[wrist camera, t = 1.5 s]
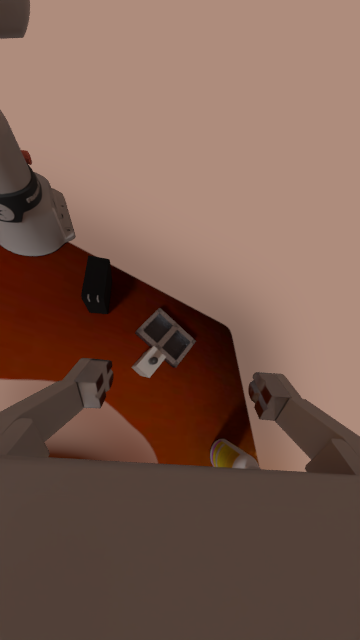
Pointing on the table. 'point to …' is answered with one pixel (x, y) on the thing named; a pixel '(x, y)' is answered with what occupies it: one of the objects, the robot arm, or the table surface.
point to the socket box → (166, 337)
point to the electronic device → (97, 285)
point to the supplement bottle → (231, 456)
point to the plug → (149, 362)
